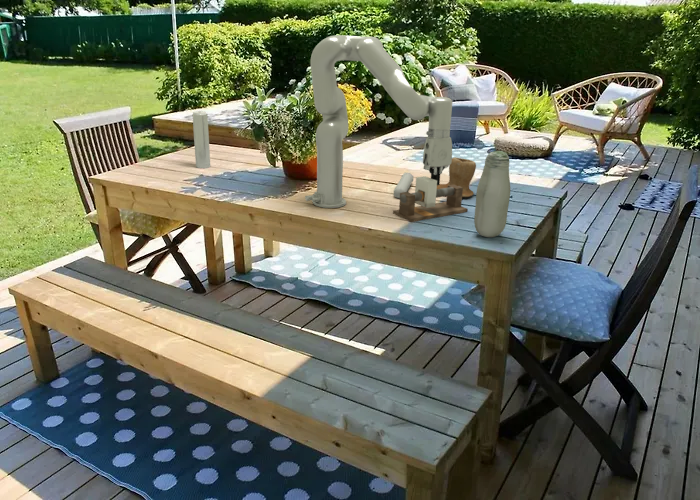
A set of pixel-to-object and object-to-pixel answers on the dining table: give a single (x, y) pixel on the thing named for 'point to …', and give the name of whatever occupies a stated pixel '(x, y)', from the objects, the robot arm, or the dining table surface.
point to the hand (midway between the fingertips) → (434, 184)
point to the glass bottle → (493, 195)
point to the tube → (403, 184)
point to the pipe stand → (422, 213)
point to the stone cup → (460, 175)
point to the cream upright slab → (426, 191)
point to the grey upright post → (201, 139)
